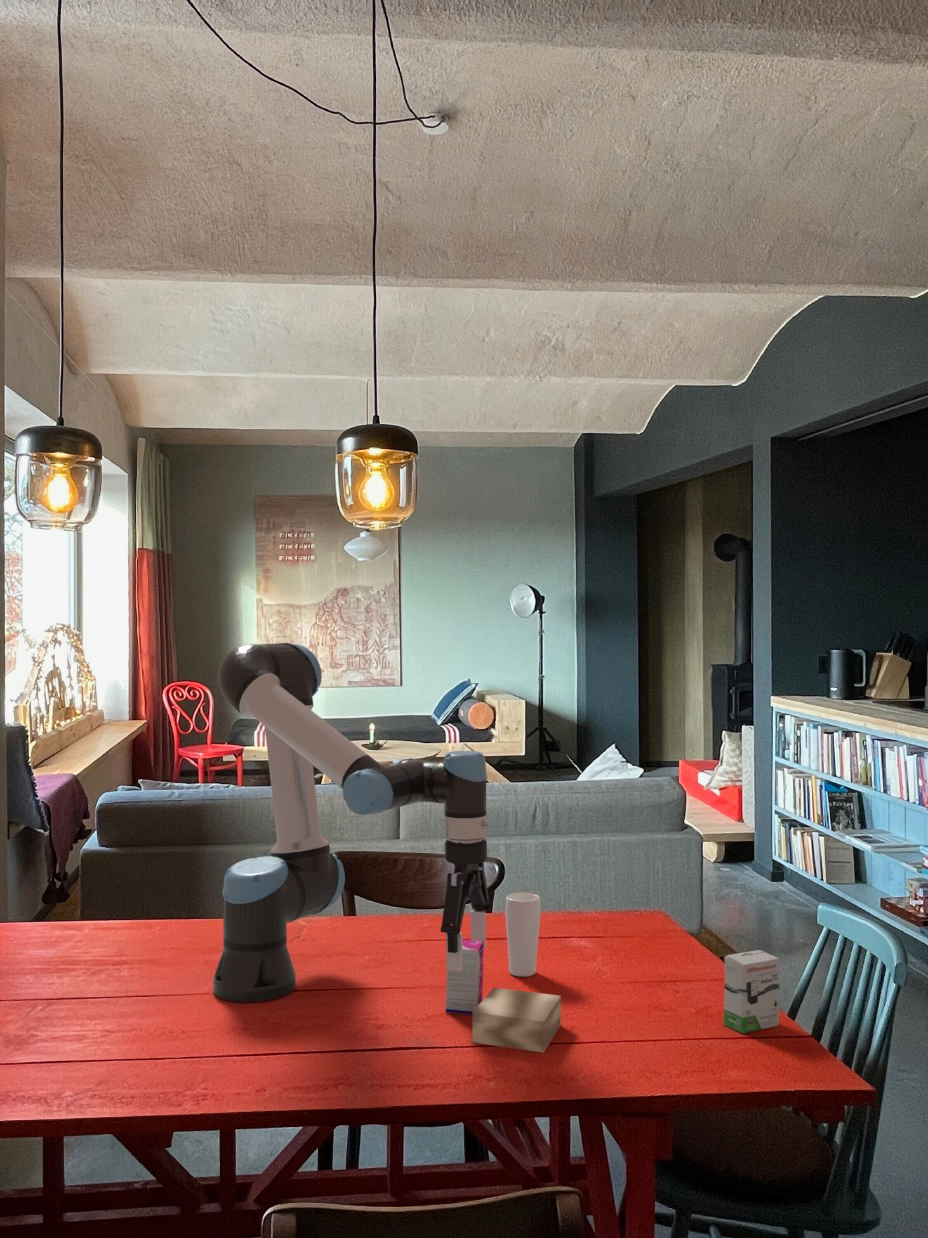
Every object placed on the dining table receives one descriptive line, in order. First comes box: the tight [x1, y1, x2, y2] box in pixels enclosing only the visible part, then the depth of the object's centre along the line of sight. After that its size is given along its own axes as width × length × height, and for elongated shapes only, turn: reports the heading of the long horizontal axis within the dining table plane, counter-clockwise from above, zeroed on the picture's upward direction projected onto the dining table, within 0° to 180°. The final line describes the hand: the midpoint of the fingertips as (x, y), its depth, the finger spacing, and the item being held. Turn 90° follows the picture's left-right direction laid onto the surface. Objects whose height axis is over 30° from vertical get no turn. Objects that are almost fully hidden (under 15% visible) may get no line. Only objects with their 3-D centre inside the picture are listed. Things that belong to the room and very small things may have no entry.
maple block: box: [472, 987, 562, 1054], centre depth 174 cm, size 12×12×5 cm
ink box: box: [723, 949, 781, 1034], centre depth 178 cm, size 9×5×12 cm, turn 117°
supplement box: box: [445, 939, 485, 1015], centre depth 185 cm, size 6×6×12 cm
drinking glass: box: [505, 892, 541, 978], centre depth 204 cm, size 7×7×15 cm
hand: (466, 958), depth 185 cm, fingers open, 13 cm apart
